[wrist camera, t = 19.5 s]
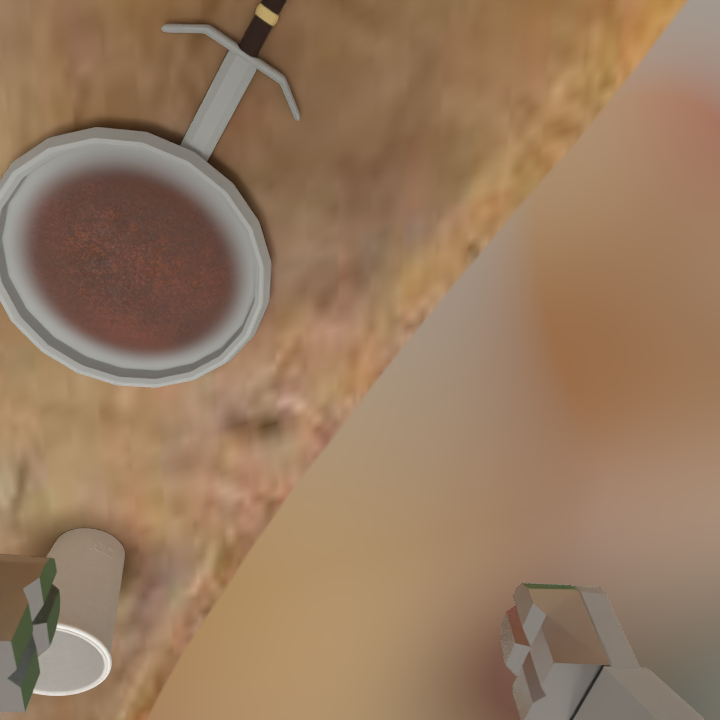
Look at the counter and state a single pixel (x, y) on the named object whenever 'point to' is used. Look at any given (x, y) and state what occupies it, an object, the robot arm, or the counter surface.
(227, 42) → the frying pan
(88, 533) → the dixie cup
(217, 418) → the counter surface
